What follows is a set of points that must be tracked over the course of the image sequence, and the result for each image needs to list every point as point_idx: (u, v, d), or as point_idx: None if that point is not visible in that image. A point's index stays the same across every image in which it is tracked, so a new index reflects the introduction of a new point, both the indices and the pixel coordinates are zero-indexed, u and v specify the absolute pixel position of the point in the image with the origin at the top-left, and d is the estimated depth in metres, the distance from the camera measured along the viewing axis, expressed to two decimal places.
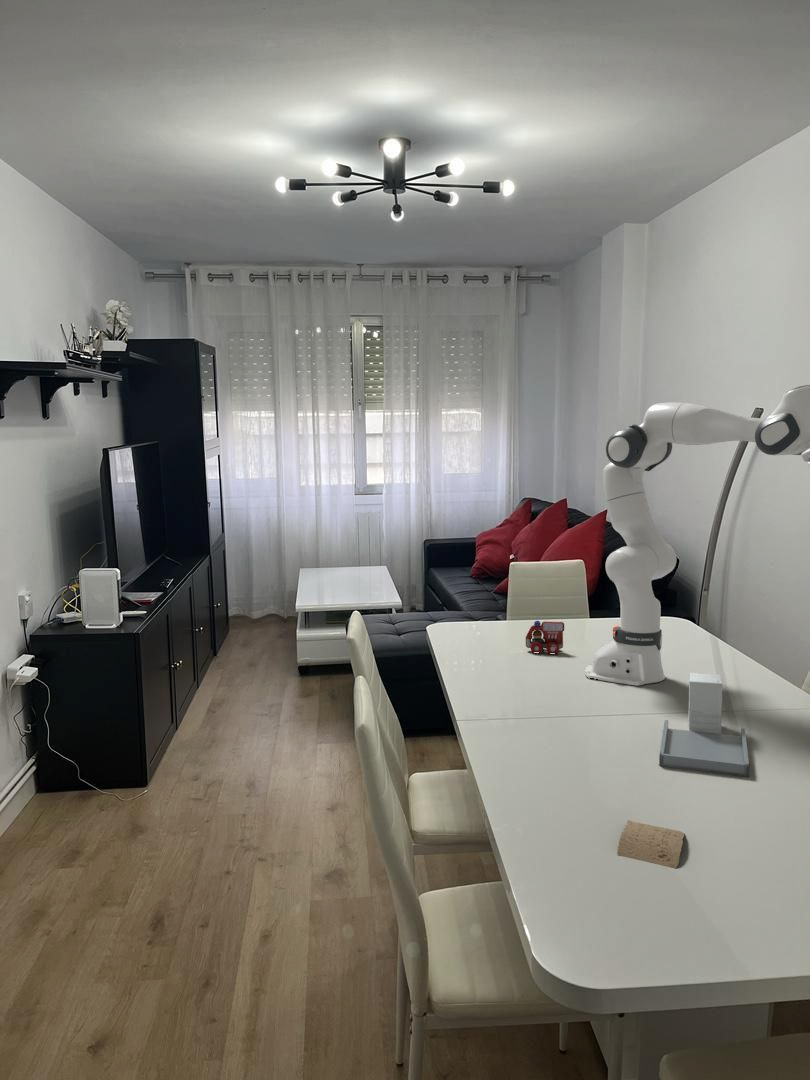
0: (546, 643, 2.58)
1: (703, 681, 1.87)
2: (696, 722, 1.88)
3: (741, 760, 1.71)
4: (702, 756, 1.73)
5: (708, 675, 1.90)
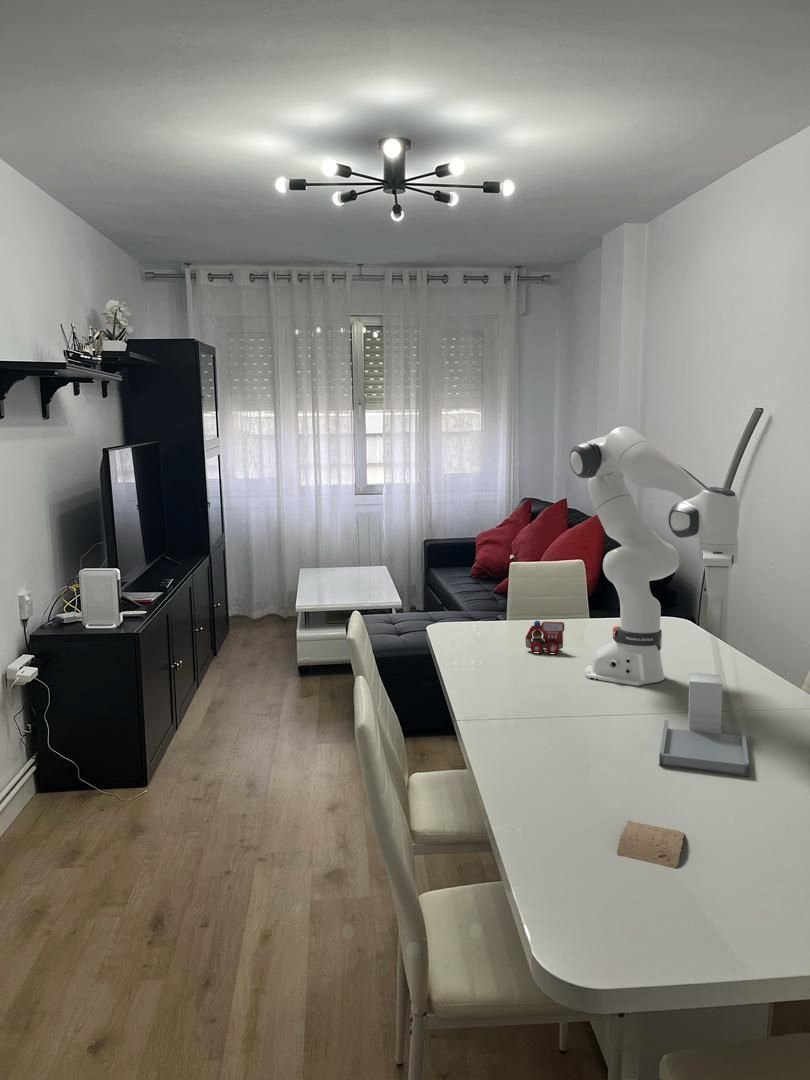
0: (546, 643, 2.58)
1: (703, 681, 1.87)
2: (696, 722, 1.88)
3: (741, 760, 1.71)
4: (702, 756, 1.73)
5: (708, 675, 1.90)
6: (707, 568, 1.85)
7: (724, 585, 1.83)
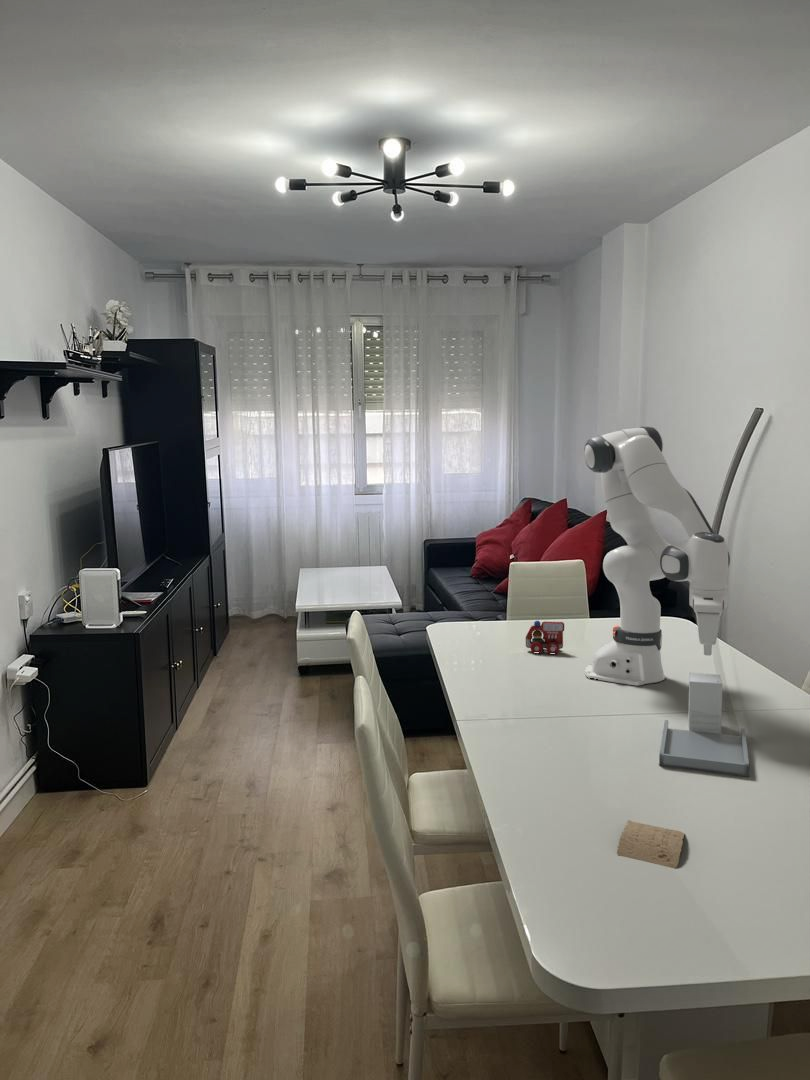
0: (546, 643, 2.58)
1: (703, 681, 1.87)
2: (696, 722, 1.88)
3: (741, 760, 1.71)
4: (702, 756, 1.73)
5: (708, 675, 1.90)
6: (698, 614, 1.88)
7: (716, 631, 1.86)
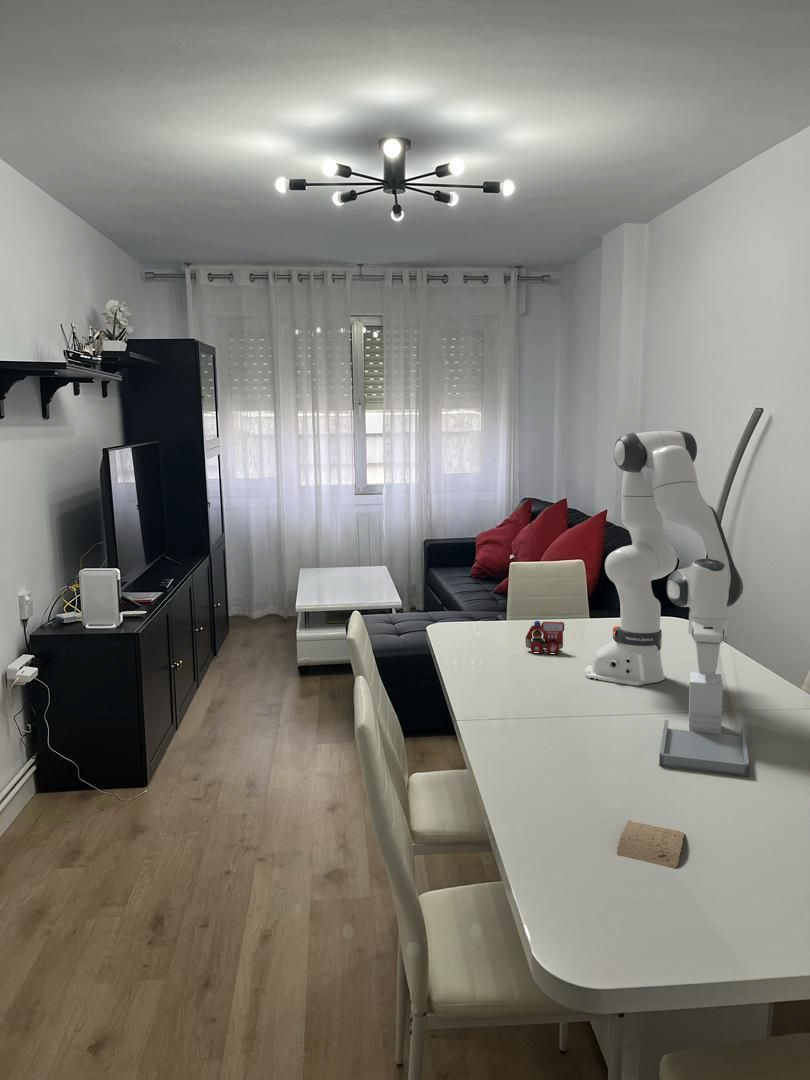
0: (546, 643, 2.58)
1: (703, 682, 1.86)
2: (696, 723, 1.88)
3: (741, 760, 1.71)
4: (702, 756, 1.73)
5: (709, 675, 1.90)
6: (698, 644, 1.85)
7: (715, 662, 1.83)
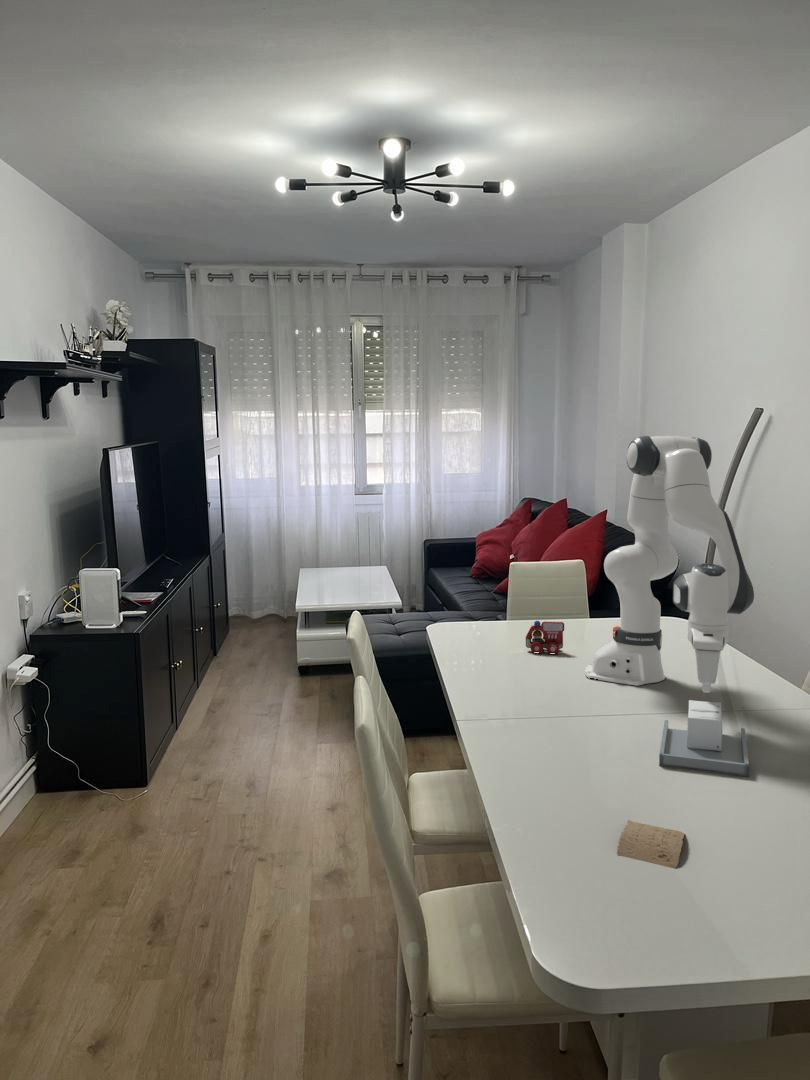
0: (546, 643, 2.58)
1: (701, 747, 1.77)
2: None
3: (741, 760, 1.71)
4: (702, 756, 1.73)
5: (708, 729, 1.75)
6: (698, 652, 1.79)
7: (715, 670, 1.77)
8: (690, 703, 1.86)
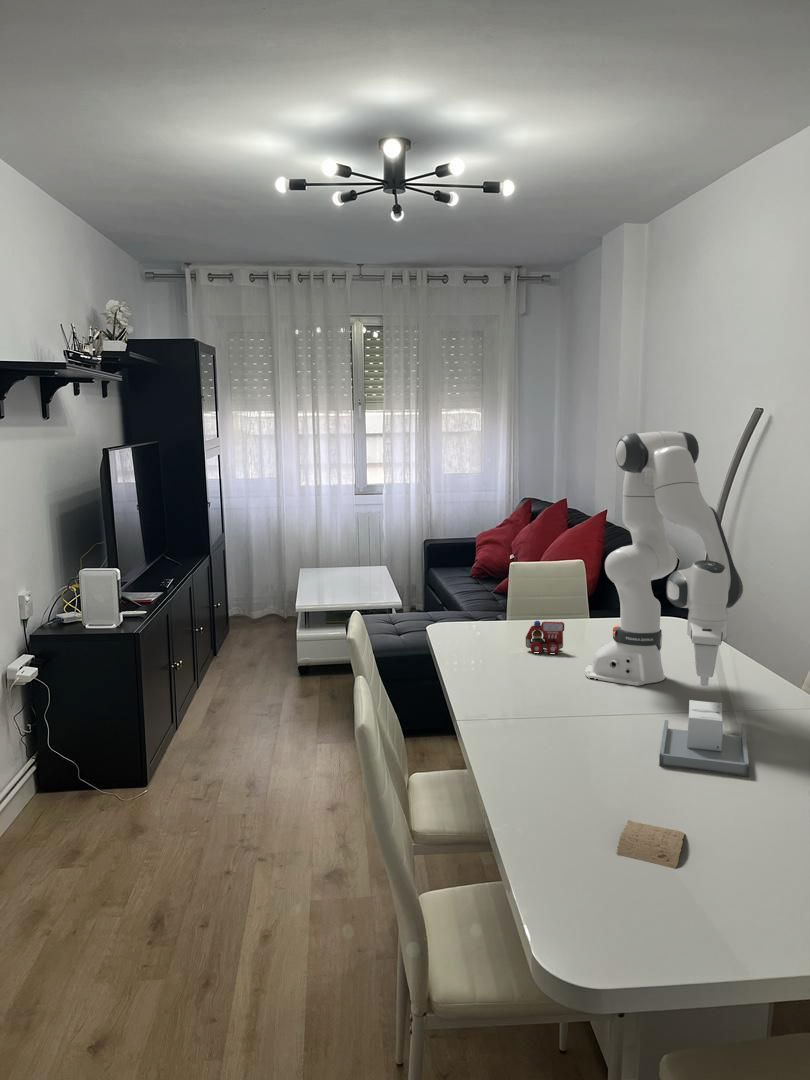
0: (546, 643, 2.58)
1: (701, 747, 1.77)
2: None
3: (741, 760, 1.71)
4: (702, 756, 1.73)
5: (708, 729, 1.75)
6: (696, 646, 1.85)
7: (713, 664, 1.83)
8: (691, 703, 1.86)
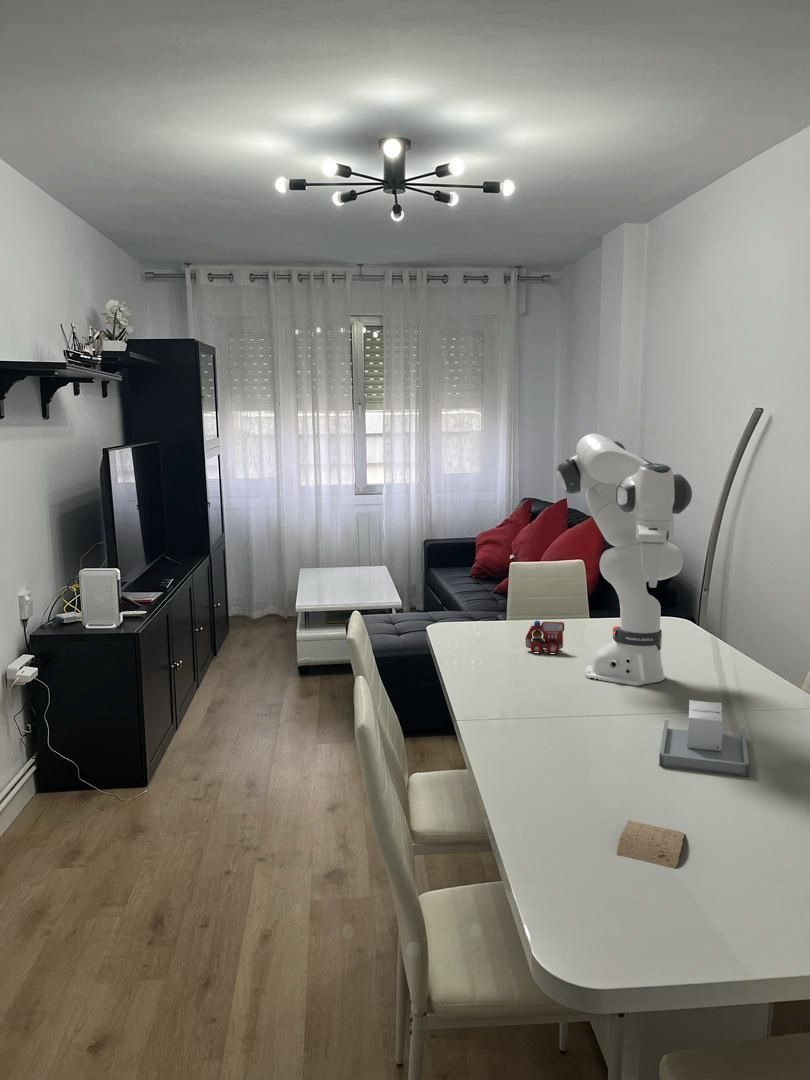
0: (546, 643, 2.58)
1: (701, 747, 1.77)
2: None
3: (741, 760, 1.71)
4: (702, 756, 1.73)
5: (708, 729, 1.75)
6: (642, 544, 1.87)
7: (659, 561, 1.85)
8: (691, 703, 1.86)
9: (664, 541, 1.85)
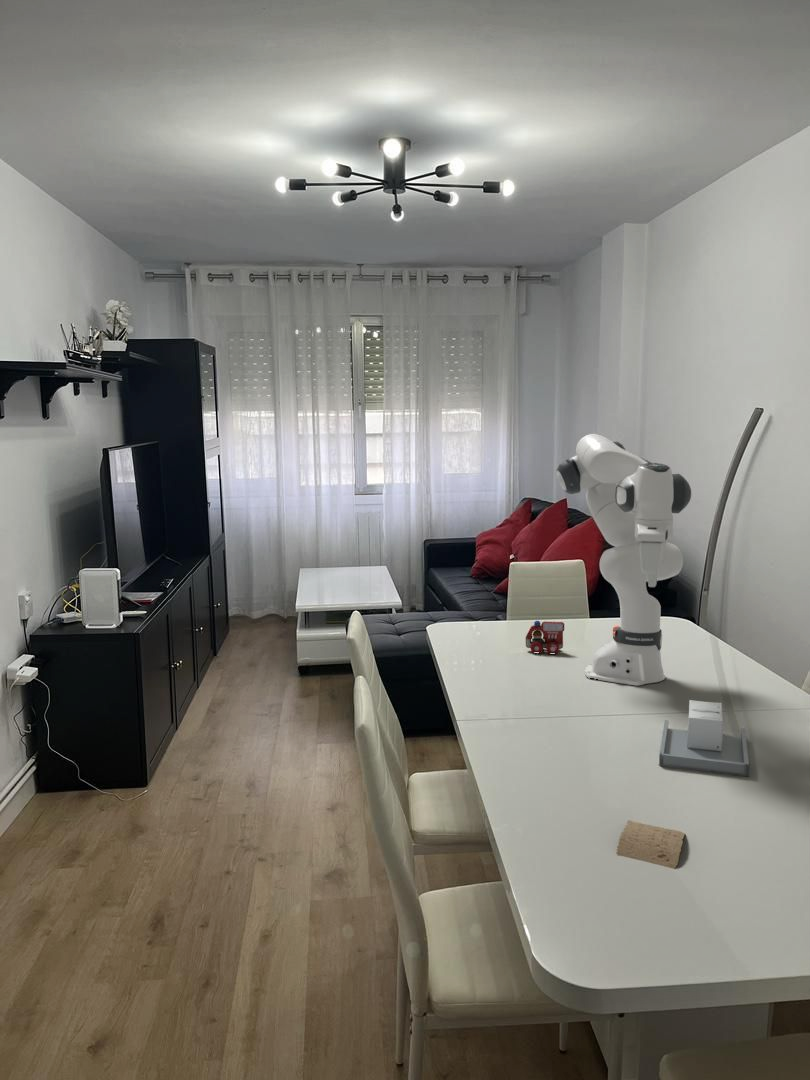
0: (546, 643, 2.58)
1: (701, 747, 1.77)
2: None
3: (741, 760, 1.71)
4: (702, 756, 1.73)
5: (708, 729, 1.75)
6: (641, 543, 1.87)
7: (658, 560, 1.85)
8: (691, 703, 1.86)
9: (663, 540, 1.85)
